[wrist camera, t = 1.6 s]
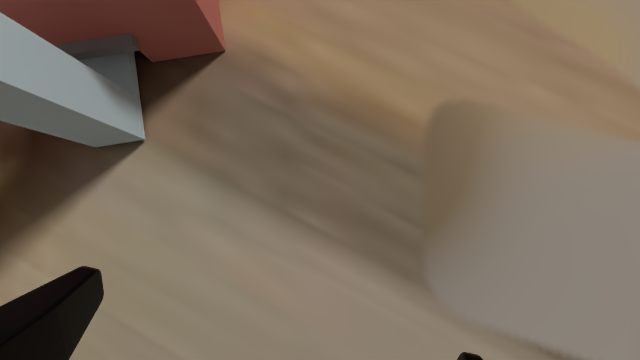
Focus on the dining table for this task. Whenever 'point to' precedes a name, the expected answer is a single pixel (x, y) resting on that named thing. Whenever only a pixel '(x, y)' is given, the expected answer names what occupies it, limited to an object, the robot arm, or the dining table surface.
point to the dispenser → (123, 26)
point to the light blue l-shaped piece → (67, 90)
